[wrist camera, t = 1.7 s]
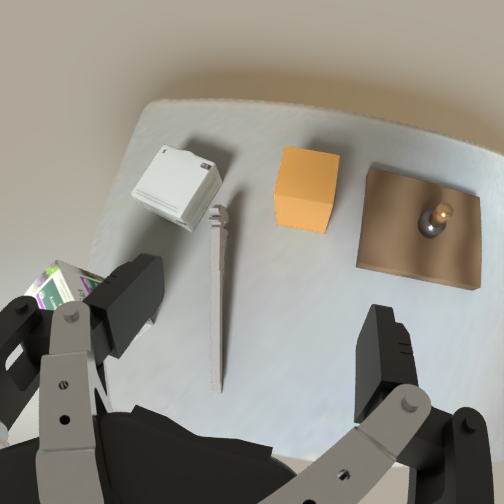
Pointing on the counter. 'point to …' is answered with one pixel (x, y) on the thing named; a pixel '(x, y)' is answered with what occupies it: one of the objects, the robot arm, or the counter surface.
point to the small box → (178, 186)
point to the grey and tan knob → (435, 220)
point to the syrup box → (66, 287)
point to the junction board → (409, 237)
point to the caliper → (217, 291)
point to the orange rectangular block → (305, 189)
